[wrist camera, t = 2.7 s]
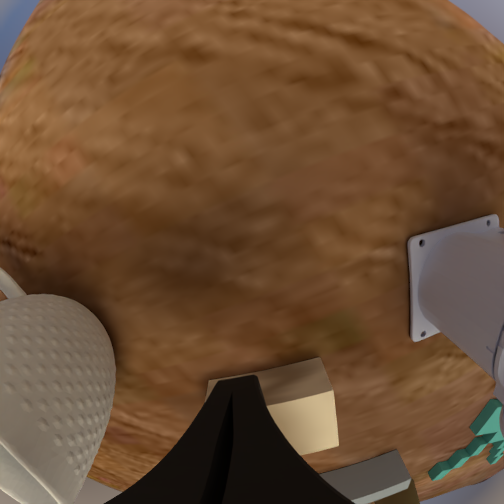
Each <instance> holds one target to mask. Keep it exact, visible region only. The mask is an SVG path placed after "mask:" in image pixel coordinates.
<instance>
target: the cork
mask: <svg viewBox="0 0 504 504" xmlns="http://www.w3.org/2000/svg"><path fill="white" fill-rule="evenodd" d="M374 503H375V504H420V502H419V499H418V495H417V491H416V488H415V484H414V481H413V479H411V481H410V484H409V486H408V488H407V489H405V490H402V491H400V492H397V493H395V494H392V495H390V496H387V497H384V498H382V499H379V500H376V501H374Z"/></svg>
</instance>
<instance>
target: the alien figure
mask: <svg viewBox="0 0 504 504" xmlns="http://www.w3.org/2000/svg"><path fill="white" fill-rule="evenodd" d="M502 406H503V404H502V403H501V402H500V401H499V400H498V399H490V401H489V402H488V403H487V405H486V406H485V408H484V409H483V410H482V412H481V413H480V414H479V416H478V417H477V418H476V420H475V421H474V422H473V423H472V425H471V426H470V429H471V430H472V431H473V433H474V434H475V435H482V434H484V435H483V436H482V437H476V438H474V439H473V441H472V442H471V443H470V444H469V445H468V446H467V447H466V449H461V450H457V451H456V452H455V453H454V454H453V455H452V456H451V457H450V458H449V459H448V460H447V461H444V462H438V463H437V464H436V465H435V466H434V467H433V468H432V469H431V470H430V471H429V472H428V474H429V476H430V478H431V480H432V481H434V480H438V479H442V478H443V477H444V476H445V475H446V474H447V473H448V472H449V471H450V470H451V469H454V468H458V467H461V466H462V465H463V464H464V463H465V462H466V461H467V460H468V459H469V458H470V456H474V455H478V454H479V453H480V452H481V451H482V450H483V448H484V447H485V446H486V445H487V444H488V443H492V444H493V445H494V446H493V448H492V449H491V450H490V451H489V452H490V453H491V454H490V455H489V457H488V458H487V460H488V462H489V463H490V465H491V464H494V463H496V462H497V461H498V460H499V459H500V458H501V457H502V456H503V453H502V452H503V451H504V438H503V436H502V433H501V430H500V424H499V417H500V411H501V408H502Z"/></svg>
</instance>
